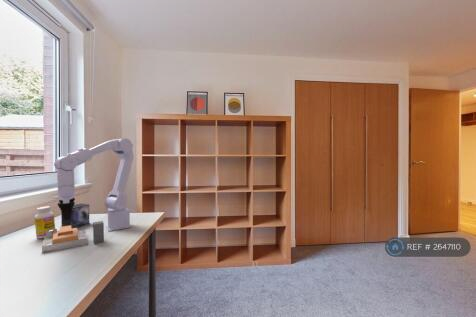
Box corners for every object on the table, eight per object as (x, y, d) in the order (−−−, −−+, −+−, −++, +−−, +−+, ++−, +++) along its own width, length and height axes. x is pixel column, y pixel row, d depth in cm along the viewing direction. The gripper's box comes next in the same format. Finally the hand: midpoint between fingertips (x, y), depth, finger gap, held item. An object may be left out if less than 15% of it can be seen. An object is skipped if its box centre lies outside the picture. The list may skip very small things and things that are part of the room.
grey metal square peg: (103, 239, 99) (102, 221, 99) (104, 242, 97) (103, 222, 96) (93, 241, 97) (92, 222, 97) (94, 244, 95) (93, 224, 94)
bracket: (76, 227, 108) (76, 224, 108) (77, 238, 94) (77, 235, 94) (54, 231, 104) (54, 227, 103) (52, 243, 89) (52, 239, 89)
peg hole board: (85, 234, 106) (84, 223, 106) (87, 244, 95) (86, 231, 95) (45, 241, 98) (44, 229, 98) (42, 253, 86) (41, 239, 86)
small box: (70, 230, 113) (69, 208, 113) (60, 228, 115) (60, 207, 115) (90, 223, 123) (89, 203, 123) (81, 222, 125) (80, 203, 125)
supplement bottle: (44, 239, 100) (41, 209, 99) (32, 238, 102) (29, 209, 101) (59, 233, 107) (56, 205, 106) (48, 233, 108) (45, 205, 107)
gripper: (55, 184, 101) (56, 215, 102) (52, 188, 89) (53, 223, 90) (75, 182, 105) (76, 212, 106) (75, 186, 93) (76, 220, 94)
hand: (67, 217), depth 98 cm, fingers open, 7 cm apart
